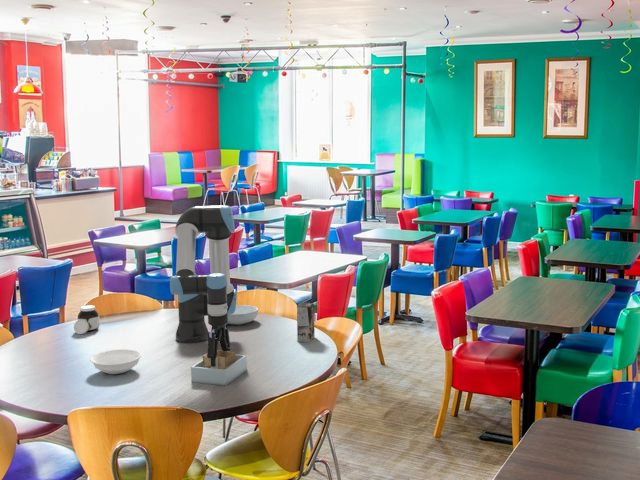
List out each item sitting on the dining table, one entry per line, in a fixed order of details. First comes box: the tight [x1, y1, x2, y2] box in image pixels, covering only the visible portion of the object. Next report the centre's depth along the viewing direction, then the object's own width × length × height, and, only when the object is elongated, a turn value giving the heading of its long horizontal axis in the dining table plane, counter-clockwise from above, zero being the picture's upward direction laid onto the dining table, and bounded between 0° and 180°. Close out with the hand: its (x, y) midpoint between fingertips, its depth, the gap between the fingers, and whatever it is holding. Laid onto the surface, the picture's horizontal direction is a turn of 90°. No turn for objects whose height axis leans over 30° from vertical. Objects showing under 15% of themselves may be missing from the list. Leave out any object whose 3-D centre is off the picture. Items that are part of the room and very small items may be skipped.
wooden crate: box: [202, 350, 236, 370], centre depth 297 cm, size 10×8×7 cm
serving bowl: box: [227, 304, 259, 326], centre depth 378 cm, size 21×21×7 cm
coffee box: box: [296, 302, 316, 343], centre depth 346 cm, size 9×6×16 cm
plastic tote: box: [190, 354, 248, 387], centre depth 297 cm, size 14×19×6 cm
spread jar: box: [73, 304, 101, 335], centre depth 365 cm, size 12×11×12 cm
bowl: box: [90, 349, 142, 375], centre depth 304 cm, size 20×20×6 cm
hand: (219, 370), depth 298 cm, fingers closed on wooden crate, 8 cm apart
